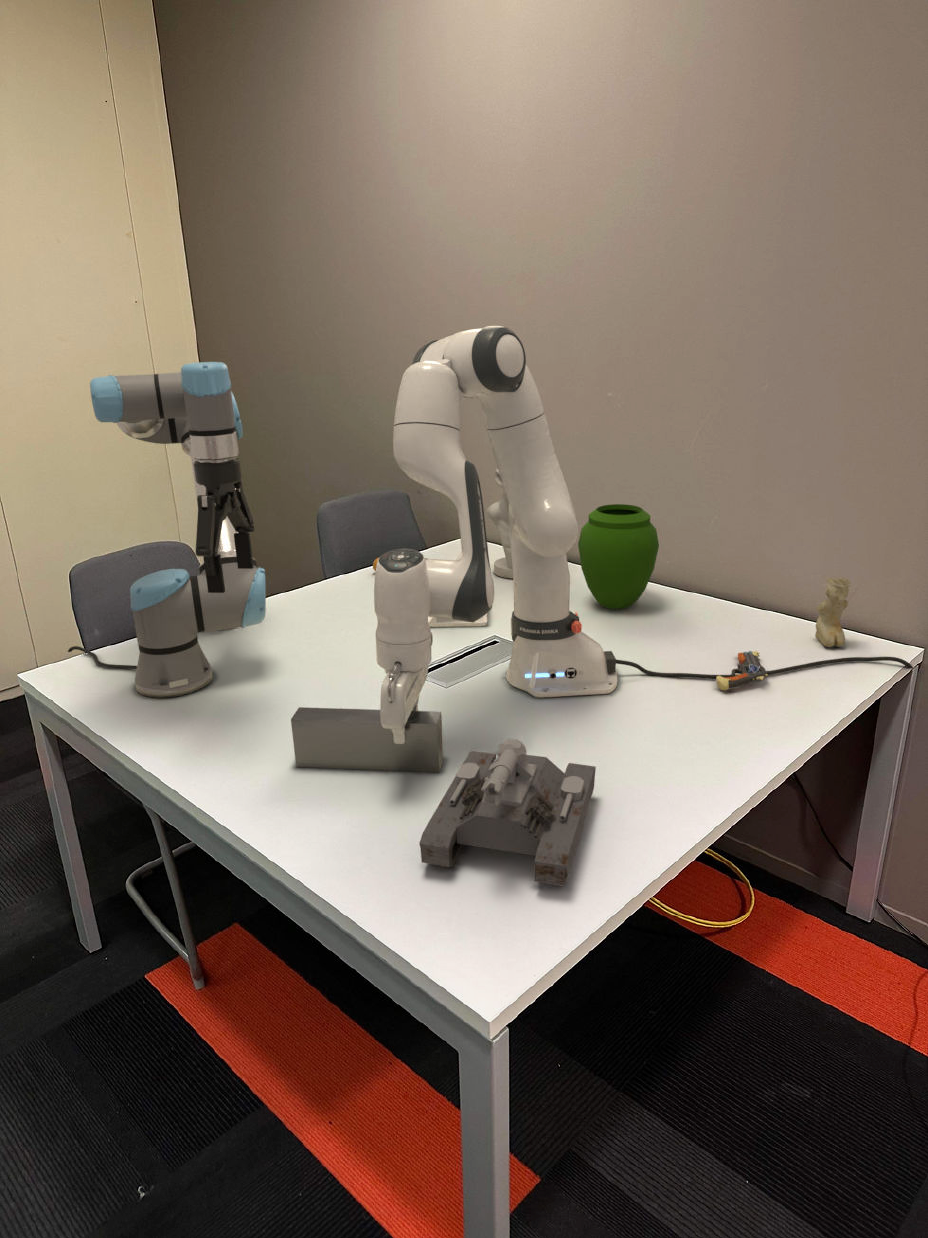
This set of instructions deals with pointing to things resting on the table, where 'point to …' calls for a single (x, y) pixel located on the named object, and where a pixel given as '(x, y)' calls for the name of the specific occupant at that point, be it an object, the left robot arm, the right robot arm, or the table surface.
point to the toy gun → (743, 672)
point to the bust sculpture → (502, 530)
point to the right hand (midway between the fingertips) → (406, 728)
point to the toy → (512, 810)
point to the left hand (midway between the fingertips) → (232, 579)
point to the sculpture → (832, 613)
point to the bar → (365, 740)
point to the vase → (618, 554)
